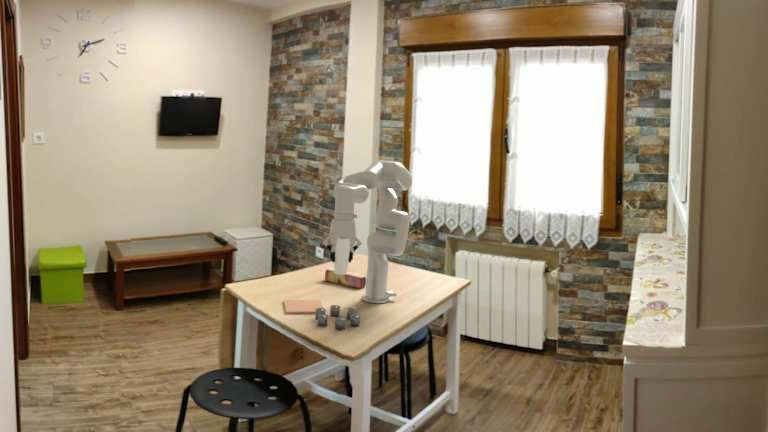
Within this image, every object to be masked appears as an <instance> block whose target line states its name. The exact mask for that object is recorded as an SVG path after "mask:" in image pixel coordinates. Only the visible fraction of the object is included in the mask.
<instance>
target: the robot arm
mask: <svg viewBox="0 0 768 432" xmlns="http://www.w3.org/2000/svg"><path fill="white" fill-rule="evenodd" d="M412 178H413V177H412V175H411V173H410V172H409V170H408V169H407V168H406V167H405V165H403V164H402V163H401V162H399V161H393V160H392V161H390V160H382V159H379V160H376V161H374V162H373V163H372V164H370V165H369V166H368V167H367V168H366V169H364V170H363V171H359V172H356V173H353V174H349V175H347V176H346V175H345V176H344V177H342V178H340V180H339V181H338V182H336V184H335V185H334V187H333V189H332V190H333V193H332V194H333V197H334V198H335V199H334V200H335V201H334V217H333V219H332V220H331V222H330V229H329V236H328V237H326V238H325V239H324V240H323V241H322V244H323V245H324V246H325V248H327V250H328V251H330V255H329V256H330V257H329V259H330V260H331V262H332V263H334V260H335V253H334V250H335V246H336V243H337V239H338V238H342V239H348V238H350V246H351V247H350V255H349V263H352V261H353V259H354V253H355V251H356V250H358V249H359V247H361V245H362V241H361V240H360V239H359V238H358V237H357V231H356V230H357V229H356V220H354V219H357V218H358V214H356V213H355V204H363V203H365V202H366V201H367V200H368V199H369V196H370V192H369V191H370V190H373V189H376V188H377V190H378V193H379V194H378V195H379V201H378V205H377V206H378V207H377V209H376V215H375V219H374V220H375V221H374V225H375V227H376V228H377V229H380V230H384V231H390V232H395V233H389V232H384V231H372V232H370V233H369V235H368V236H367V238H366V246H367V267H366V268H367V269H366V270H367V271H366V285H365V293H364V294H363V295H362V296H361V299H362V300H363V301H364V302H365V303H371V304H385V303H388V302H389V301H390V297H391V298H392V297H395V298H396V297H397V295H398V293H397V292H395V291H394V292H393V290H390V291H388V274H389V260H388V257H387V256H386V255H388V256H394V257H400V256H401V255H403V253H404V251H405V248H406V244H407V240H408V235H409V230H410V226H411V225H410V224H411V219H410V218H411V217H410V214H408V212H406V211H403V210H397V208H398V203H399V198H398V196H397V194H396V192H395V191H394V190H397V191H407V190H409V189H411V187H412V184H413V179H412ZM329 243H330V244H329ZM330 245H331V246H330Z"/></svg>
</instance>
